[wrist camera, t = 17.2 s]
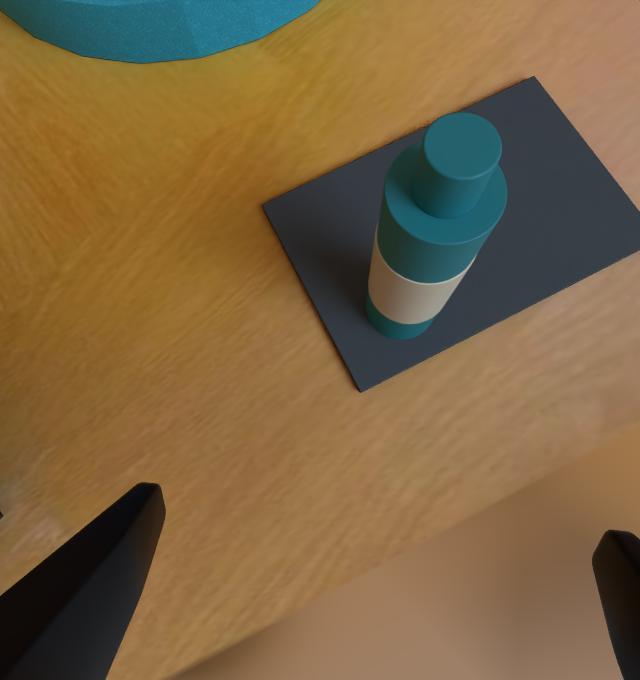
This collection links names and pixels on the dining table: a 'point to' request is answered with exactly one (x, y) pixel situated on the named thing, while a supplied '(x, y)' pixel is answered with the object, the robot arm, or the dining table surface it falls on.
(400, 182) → the teal capped bottle
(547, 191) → the mat
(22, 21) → the teal oval tray
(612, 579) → the robot arm
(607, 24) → the dining table surface
